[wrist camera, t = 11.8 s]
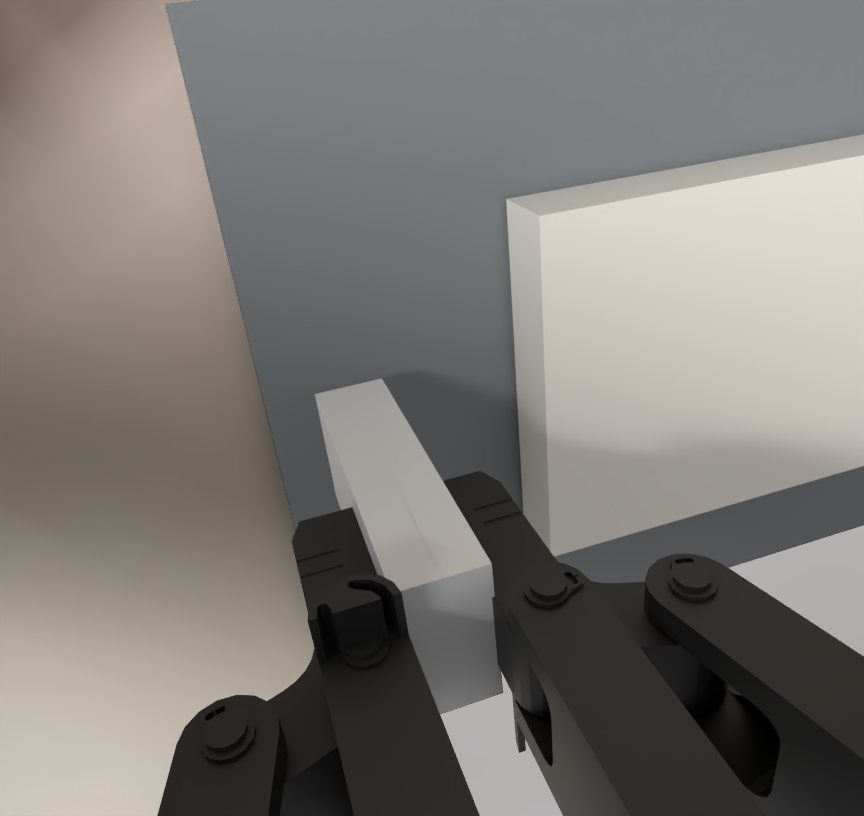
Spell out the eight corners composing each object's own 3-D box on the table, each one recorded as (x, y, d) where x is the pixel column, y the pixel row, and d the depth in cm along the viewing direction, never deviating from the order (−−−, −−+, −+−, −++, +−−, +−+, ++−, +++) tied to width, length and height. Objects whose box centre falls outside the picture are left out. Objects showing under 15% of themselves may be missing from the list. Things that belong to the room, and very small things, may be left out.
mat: (331, 675, 22) (334, 691, 22) (166, 5, 14) (164, 3, 13) (919, 494, 27) (934, 503, 26) (1077, -97, 18) (1103, -101, 18)
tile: (550, 557, 19) (894, 456, 21) (539, 215, 15) (972, 134, 17) (521, 515, 21) (843, 426, 23) (504, 197, 17) (902, 125, 19)
